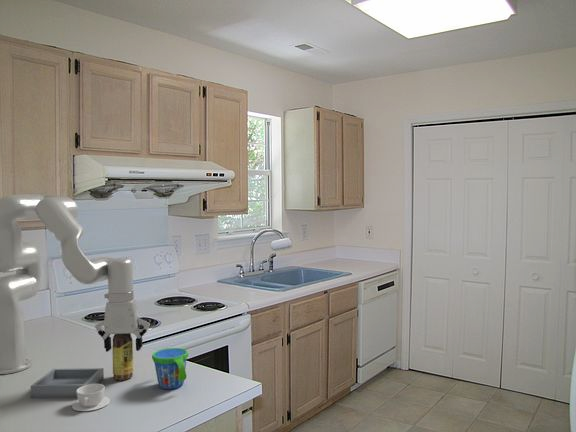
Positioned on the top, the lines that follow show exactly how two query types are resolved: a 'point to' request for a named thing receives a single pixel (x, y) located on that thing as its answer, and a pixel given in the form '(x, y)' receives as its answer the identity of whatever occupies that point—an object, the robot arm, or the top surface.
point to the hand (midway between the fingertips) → (123, 350)
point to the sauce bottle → (122, 356)
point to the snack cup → (170, 367)
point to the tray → (65, 382)
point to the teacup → (90, 398)
